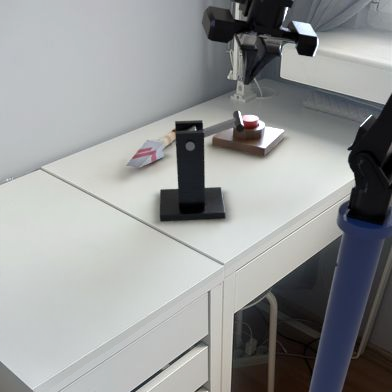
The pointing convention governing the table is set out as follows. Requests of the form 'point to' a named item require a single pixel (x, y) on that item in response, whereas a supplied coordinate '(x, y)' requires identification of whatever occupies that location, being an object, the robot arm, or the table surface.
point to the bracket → (191, 180)
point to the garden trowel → (151, 151)
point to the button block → (249, 139)
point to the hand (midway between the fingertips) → (245, 83)
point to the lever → (222, 126)
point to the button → (250, 121)
